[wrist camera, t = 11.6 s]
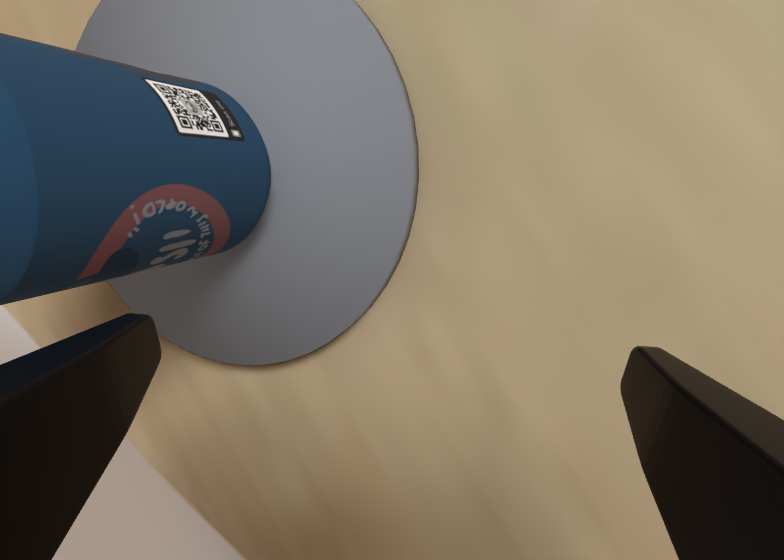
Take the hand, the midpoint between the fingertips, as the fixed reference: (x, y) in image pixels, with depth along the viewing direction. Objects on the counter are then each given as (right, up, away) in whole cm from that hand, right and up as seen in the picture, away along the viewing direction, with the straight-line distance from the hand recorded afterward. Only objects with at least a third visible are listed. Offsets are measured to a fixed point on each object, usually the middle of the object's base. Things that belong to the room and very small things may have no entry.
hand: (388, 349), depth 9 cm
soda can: (-8, +6, +12) cm, 15 cm away
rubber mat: (-7, +6, +13) cm, 16 cm away
